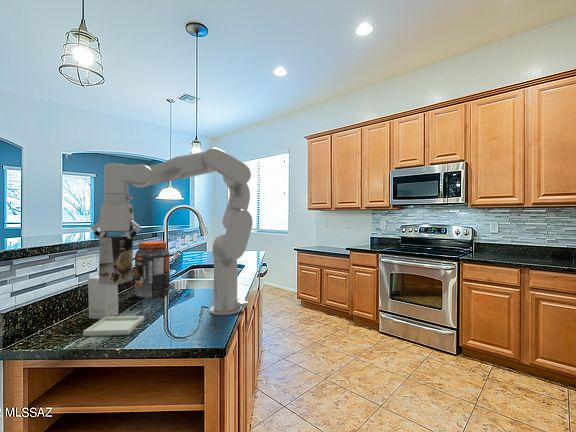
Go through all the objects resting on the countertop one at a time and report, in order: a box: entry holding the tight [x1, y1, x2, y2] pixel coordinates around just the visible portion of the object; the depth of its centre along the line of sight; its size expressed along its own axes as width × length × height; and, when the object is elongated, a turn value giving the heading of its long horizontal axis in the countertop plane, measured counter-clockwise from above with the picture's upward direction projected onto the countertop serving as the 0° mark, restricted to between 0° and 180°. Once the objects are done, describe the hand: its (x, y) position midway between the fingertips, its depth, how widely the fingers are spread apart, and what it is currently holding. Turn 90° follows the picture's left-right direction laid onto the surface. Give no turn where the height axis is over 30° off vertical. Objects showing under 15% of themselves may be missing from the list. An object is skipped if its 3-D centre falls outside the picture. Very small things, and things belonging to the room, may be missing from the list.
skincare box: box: [87, 275, 119, 320], centre depth 119 cm, size 8×7×16 cm
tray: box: [82, 315, 145, 337], centre depth 108 cm, size 14×14×2 cm
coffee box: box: [98, 235, 134, 285], centre depth 108 cm, size 9×6×16 cm
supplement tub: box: [134, 240, 171, 299], centre depth 152 cm, size 16×16×26 cm
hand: (116, 249), depth 108 cm, fingers closed on coffee box, 7 cm apart
